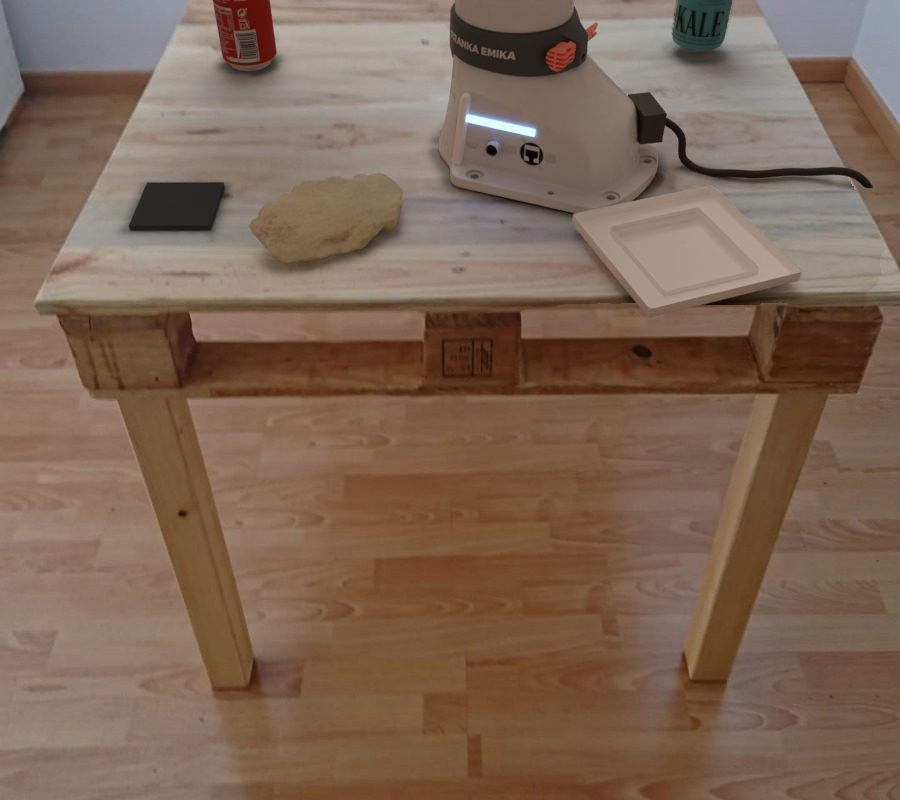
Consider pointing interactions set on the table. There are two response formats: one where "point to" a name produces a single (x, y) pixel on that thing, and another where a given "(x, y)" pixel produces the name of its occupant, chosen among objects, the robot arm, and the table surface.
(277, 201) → the stone tool
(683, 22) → the beverage bottle
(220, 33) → the beverage can
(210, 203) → the mat
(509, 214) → the table surface
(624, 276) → the square tray
